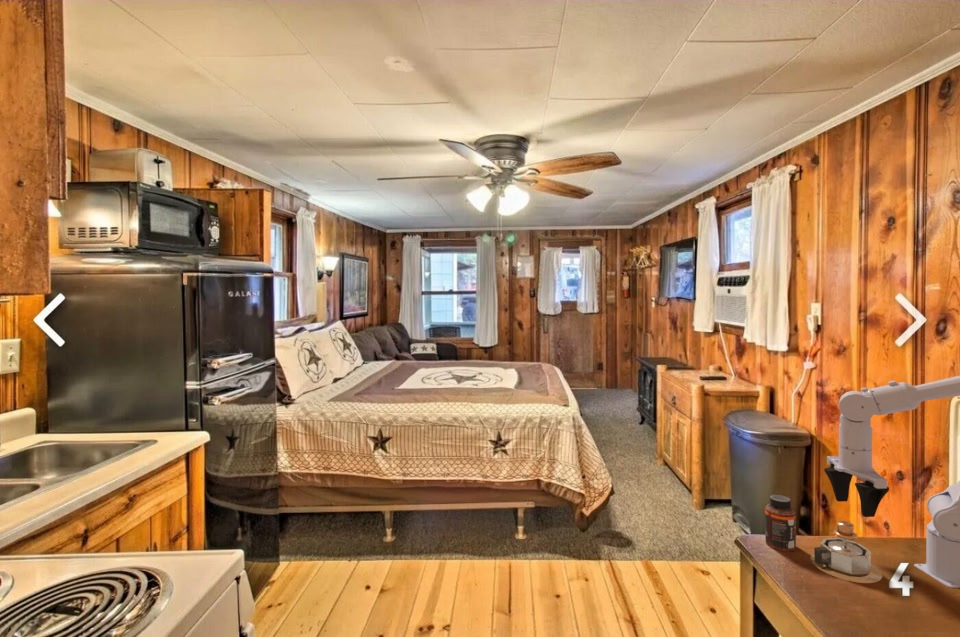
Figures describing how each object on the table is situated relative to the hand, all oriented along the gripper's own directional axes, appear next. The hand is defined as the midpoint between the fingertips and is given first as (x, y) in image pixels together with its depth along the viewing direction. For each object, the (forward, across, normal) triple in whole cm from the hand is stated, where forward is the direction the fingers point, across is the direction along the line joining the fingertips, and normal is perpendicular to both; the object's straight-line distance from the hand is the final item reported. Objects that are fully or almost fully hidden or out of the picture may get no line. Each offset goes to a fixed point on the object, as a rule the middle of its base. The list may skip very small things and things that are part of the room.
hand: (854, 508), depth 105 cm
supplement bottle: (+11, -4, -14) cm, 18 cm away
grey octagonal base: (+10, +5, -6) cm, 13 cm away
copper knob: (+7, +5, -6) cm, 10 cm away
